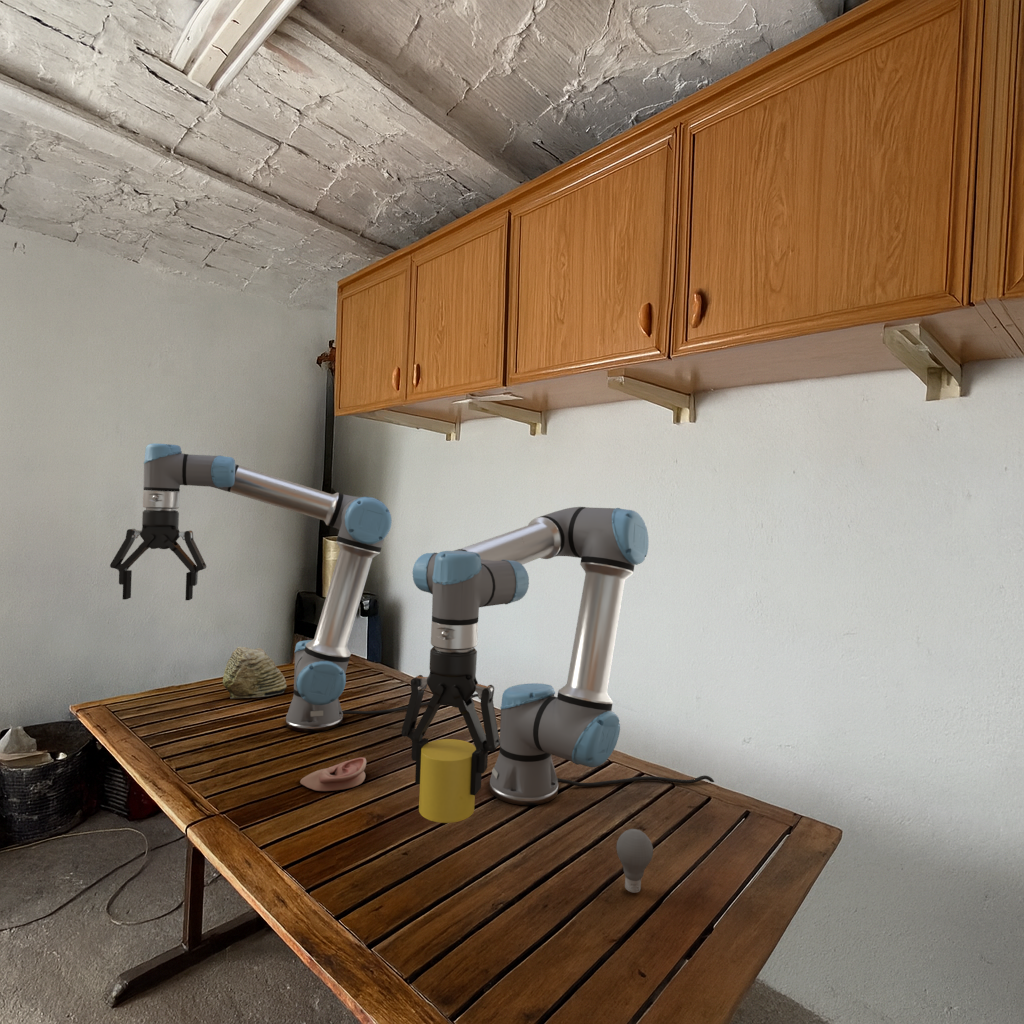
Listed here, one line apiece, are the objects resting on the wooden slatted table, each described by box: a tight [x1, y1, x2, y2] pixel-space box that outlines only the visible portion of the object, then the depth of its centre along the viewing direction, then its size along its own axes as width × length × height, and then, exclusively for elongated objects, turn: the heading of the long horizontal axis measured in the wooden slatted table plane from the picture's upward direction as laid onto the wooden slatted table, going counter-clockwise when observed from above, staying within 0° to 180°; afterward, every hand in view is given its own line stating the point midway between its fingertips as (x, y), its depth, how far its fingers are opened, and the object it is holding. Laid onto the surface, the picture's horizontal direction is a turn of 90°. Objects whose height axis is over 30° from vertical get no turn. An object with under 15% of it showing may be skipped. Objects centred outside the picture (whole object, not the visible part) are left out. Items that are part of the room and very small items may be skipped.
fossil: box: [222, 646, 288, 699], centre depth 198 cm, size 9×18×15 cm, turn 132°
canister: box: [418, 738, 476, 824], centre depth 102 cm, size 9×9×10 cm
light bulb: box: [615, 828, 654, 894], centre depth 106 cm, size 6×6×10 cm
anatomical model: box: [299, 756, 367, 792], centre depth 141 cm, size 13×4×12 cm
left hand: (158, 599), depth 150 cm, fingers open, 13 cm apart
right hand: (447, 785), depth 102 cm, fingers closed on canister, 9 cm apart
